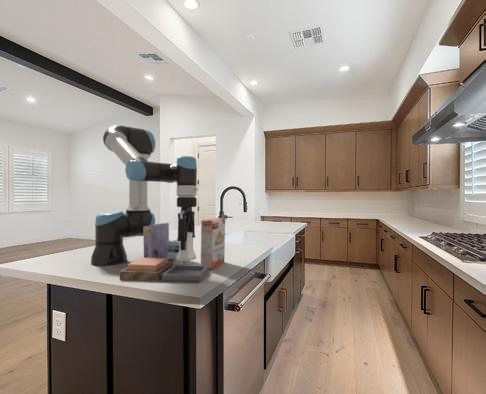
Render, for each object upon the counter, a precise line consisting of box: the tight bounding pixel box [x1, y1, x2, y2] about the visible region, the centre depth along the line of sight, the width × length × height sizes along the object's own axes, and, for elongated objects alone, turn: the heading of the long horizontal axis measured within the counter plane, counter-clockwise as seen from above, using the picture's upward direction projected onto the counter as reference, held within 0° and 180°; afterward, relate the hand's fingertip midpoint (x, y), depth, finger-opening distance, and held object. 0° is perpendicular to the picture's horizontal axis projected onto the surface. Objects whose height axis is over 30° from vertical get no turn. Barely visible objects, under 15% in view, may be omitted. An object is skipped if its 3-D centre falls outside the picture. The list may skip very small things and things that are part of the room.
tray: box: [161, 264, 209, 284], centre depth 104 cm, size 14×14×2 cm
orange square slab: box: [127, 257, 167, 272], centre depth 106 cm, size 11×11×2 cm
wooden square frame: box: [119, 262, 174, 282], centre depth 106 cm, size 15×15×3 cm
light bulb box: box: [167, 237, 191, 266], centre depth 125 cm, size 11×7×11 cm, turn 168°
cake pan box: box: [142, 222, 170, 258], centre depth 128 cm, size 19×5×18 cm, turn 172°
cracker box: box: [200, 217, 226, 270], centre depth 120 cm, size 14×6×21 cm, turn 162°
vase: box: [176, 232, 197, 262], centre depth 104 cm, size 8×8×10 cm
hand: (186, 256), depth 104 cm, fingers closed on vase, 6 cm apart
